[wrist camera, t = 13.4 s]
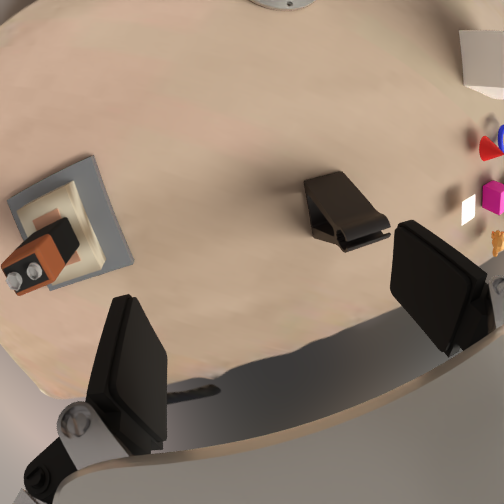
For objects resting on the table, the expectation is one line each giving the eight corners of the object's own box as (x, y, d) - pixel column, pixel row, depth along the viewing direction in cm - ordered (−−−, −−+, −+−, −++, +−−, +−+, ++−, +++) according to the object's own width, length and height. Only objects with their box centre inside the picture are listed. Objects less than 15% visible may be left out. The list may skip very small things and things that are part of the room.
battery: (31, 232, 30) (-6, 270, 21) (67, 214, 30) (31, 250, 21) (45, 260, 32) (14, 302, 23) (82, 244, 32) (52, 287, 23)
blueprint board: (10, 197, 31) (6, 200, 30) (93, 155, 32) (90, 156, 31) (52, 286, 38) (50, 291, 37) (134, 260, 39) (132, 264, 38)
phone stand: (303, 180, 39) (343, 207, 28) (341, 170, 39) (390, 194, 29) (312, 237, 43) (349, 278, 33) (347, 226, 43) (390, 263, 33)
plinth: (26, 204, 31) (15, 211, 28) (73, 180, 31) (64, 186, 28) (59, 275, 36) (52, 286, 34) (106, 258, 37) (100, 270, 34)
